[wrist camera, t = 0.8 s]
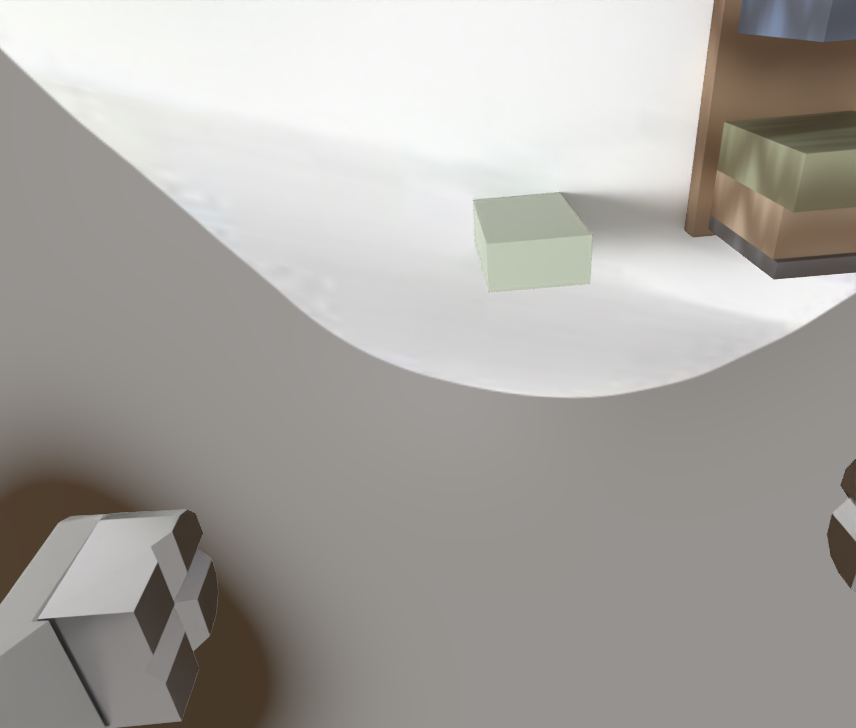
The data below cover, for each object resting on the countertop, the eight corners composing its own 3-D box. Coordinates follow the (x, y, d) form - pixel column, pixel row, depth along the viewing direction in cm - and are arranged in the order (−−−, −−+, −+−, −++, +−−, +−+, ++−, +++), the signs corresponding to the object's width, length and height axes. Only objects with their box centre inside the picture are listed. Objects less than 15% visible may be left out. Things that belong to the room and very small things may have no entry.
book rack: (741, -215, 33) (877, -301, 23) (935, -234, 33) (1151, -329, 23) (684, 230, 45) (758, 292, 35) (825, 217, 45) (938, 277, 35)
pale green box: (472, 199, 43) (486, 243, 36) (559, 192, 43) (592, 234, 36) (474, 241, 45) (488, 292, 37) (558, 234, 45) (590, 283, 37)
